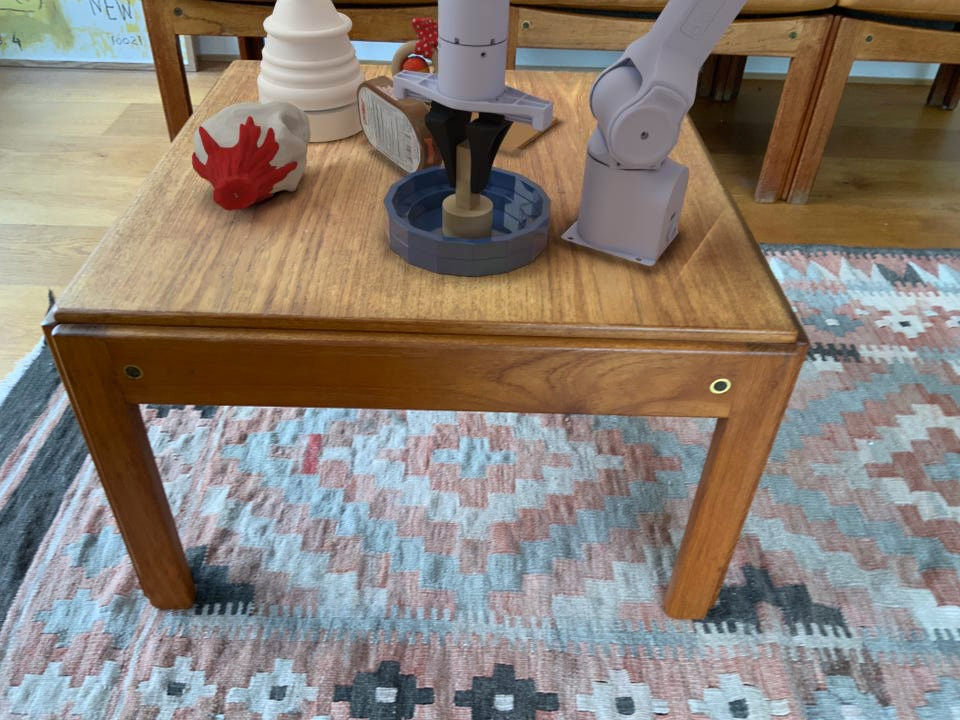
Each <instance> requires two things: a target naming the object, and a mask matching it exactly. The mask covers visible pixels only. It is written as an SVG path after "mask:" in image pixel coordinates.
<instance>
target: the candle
mask: <svg viewBox="0 0 960 720" xmlns="http://www.w3.org/2000/svg"><path fill="white" fill-rule="evenodd" d="M310 133H311V132H310V124H309V119H308V117H307V114H306V113H305V112H304V111H303V110H301V109H299V108H297V107H296V106H294V105H292V104H290V103H287V102H283V101H273V102H269V103H265V104H262V103H260V101H259V102H258V101H257V102H256V101H255V102H254V101H243V102H238V103H233V104H230V105H228V106H225V107H224V108H222V109H220V110H219V111H218V112H217V113H216V114H214V115H211V116H210V117H208V118H207V119H206V120H204V121H203V122H202V123H200V125H199V126H198V127H197V129H196V130H195V131H194V135H193V148H194V151H193V152H192V155H191V164H192V169H193V170H194V171H195V172H196V174H197V175H198V176H199V177H200V178H201V179H202V180H203V179H204V180H205V181H206V182H207V183H208V185H209V186H210V187H211V188H212V190H213V193H212V199H213V202H214V203H215V204H216V205H218V206H219V207H222V209H224V210H226V211H231V212H232V211H235V210H236V211H237V210H244V209H246V208H247V207H250V206H251V205H252V204H254V203H255V204H256V203H262V202H264V200H268V199H269V198H272V197H273V196H274V195H275V193H277V192H281V191H288V192H294V191H296V189H297V187H298V185H299V182H300V180H301V179H302V177H303V174H304V171H305V168H306V165H307V163H308V159H307V158H308V157H307V156H308V146H309V143H311V142H310Z"/></svg>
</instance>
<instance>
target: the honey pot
mask: <svg viewBox="0 0 960 720" xmlns="http://www.w3.org/2000/svg"><path fill="white" fill-rule="evenodd" d="M262 26H263V29H264V31H265V32H266V33H267V34H266V38H265V44H264V46H263V48H262V49H261V54H262V59H261V60H260V61H261V62H260V64H259V65H260V72H259V74H258V76H257V80H256V85H257V88H258V89H257V91H258V100H259V103H262V104H265V103H269V102H273V101H283V102H287V103H290V104H292V105H294V106H296V107H297V108H299V109H301V110H303V111H304V112H305V113H306V114H307V117H308V119H309V124H310V132H311V133H310V142H309V143H323V142H331V141H332V142H333V141H337V140H343V139H346V138H348V137H351V136H355V135H356V134H358V133H360V132H361V131H363V130H362V128H361V125H360V119H359V111H358V103H357V95H356V93H357V89H358V87H359V85H360V84H361V83H362V82H364V81H367V78H366V76H365V73H364V71H363V69H362V68H361V64H360V60H359V58H358V57H357V55H356V52H357V50H356V48H355V45H353V44H352V42H351V40H350V37H349V35H348V33H349V32H350V31H351V30H352V28H353V22H352V19H351V18H350V17H349V16H348V15H346V14H345V13H342V12H339V11H338V10H337V9H336V7H335V4H334V3H333V0H276V2H275V5H274V8H273V11H272V14H270V15H268V16H267V17H266V18H265V19H264V21H263V23H262Z"/></svg>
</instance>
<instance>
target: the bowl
mask: <svg viewBox="0 0 960 720" xmlns="http://www.w3.org/2000/svg"><path fill="white" fill-rule="evenodd" d="M453 194H456V189H455V188H451V187H450V186H449V182H448V177H447V173H446V169H445V166H444V164H443V165H441V166H433V167H429V168H426V169H423V170H419V171H416V172H412V173H409V174H408V173H407V174H406V175H404V176H403V177H401V178H399V179H398V180H396V181H395V182H394V183H391V185H390V186H389V187H388V190H387V192H386V194H385V196H384V198H383V202H382V204H383V221H384V223H383V224H384V233H385V237H386V239H387V242H388V245H389V248H390V249H391V250H392V251H393V252H395V253H396V254H397V255H398V256H399V257H401V258H402V259H403V260H405V261H406V262H407V263H408V264H409V265H413V266H416V267H418V268H422V269H424V270H427V271H430V272H433V273H436V274H440V275H441V274H443V275H451V276H452V275H453V276H460V277H461V276H462V277H472V278H473V277H475V278H476V277H481V276H483V277H484V276H490V275H491V276H493V275H500V274H506V273H508V272H511V271H514V270H516V269H518V268H521V267H524V266H526V265H529V264H532V263H533V261H534V260H536V259H537V257H538V256H540V254H542V253H543V252H544V251H545V249H547V245H548V237H549V227H550V219H551V209H552V199H551V198H550V197H549V195H548V194H547V193H546V191H545V190H544V188H543V186H541V185H540V184H539V183H537V182H535V181H533V180H531V179H530V178H529V177H527V176H525V175H523V174H521V173H518V172H515V171H511V170H507V169H504V168H501V167H497V166H493V165H492V168H491V172H490V175H489V179H488V184H487V187H486V188H485V189H484V190H483V191H482V192H480V195H483V196H485V197H487V198H489V199H490V200H491V201H492V203H493V218H492V234H491V236H490V237H489V238H482V239H463V238H453V237H445V236H444V235H443V232H442V204H443V201H444V200H445V199H446V198H447V197H448V196H450V195H453Z"/></svg>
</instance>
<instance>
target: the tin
mask: <svg viewBox="0 0 960 720" xmlns="http://www.w3.org/2000/svg"><path fill="white" fill-rule="evenodd" d="M356 95H357V103H358V111H359V119H360V125H361V128H362V130H361V131H362V133H363V135H364V137H365V139H366V140H367V142H368V144H369V146H371V147H373V148H374V149H375V150H376V151H378V152H379V153H380V154H381V155H383V156H384V157H385V158H387V159H388V160H389V161H390V162H392V163H393V164H395V165H396V166H397V167H398V168H400V169H402V170H403V171H404V172H406V173H407V174H409V173H412V172H416V171H419V170H423V169H426V168H429V167H433V166H443V165H442V164H443V159H442V156H441V154H440V151H439V149H438V146H437V144H436V142H435V140H434V138H433V136H432V135H431V133H430V131H429V130H428V128H427V127H426V125H425V121H424V116H425V115H426V114H427V113H429V112H430V107H429V106H428V104H427V102H426V101H421V100H417V99H412V98H408V97H407V98H406V99H398V98H394V91H393V79H391V78H390V77H389V76H387V75H378V76H377V77H375V78H370V79H366V81H364V82H362V83H361V84H360V85H359V87H358V89H357V93H356Z"/></svg>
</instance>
